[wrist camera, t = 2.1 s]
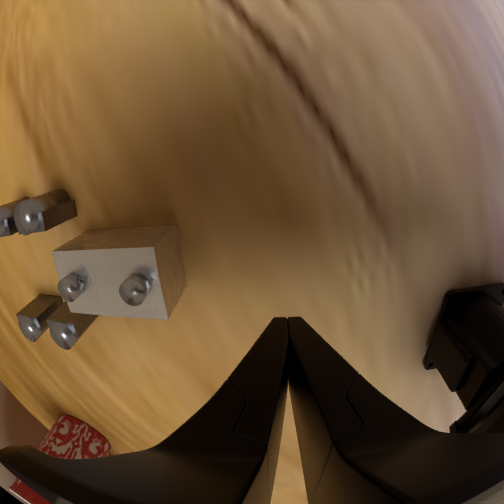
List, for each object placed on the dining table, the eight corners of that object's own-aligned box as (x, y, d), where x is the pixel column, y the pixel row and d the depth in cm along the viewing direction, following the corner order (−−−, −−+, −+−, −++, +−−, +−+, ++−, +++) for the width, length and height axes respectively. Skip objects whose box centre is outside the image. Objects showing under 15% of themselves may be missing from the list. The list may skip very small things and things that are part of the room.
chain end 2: (72, 186, 14) (33, 198, 10) (104, 322, 17) (80, 352, 14) (45, 192, 14) (8, 204, 11) (77, 319, 17) (52, 346, 14)
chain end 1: (35, 194, 14) (-1, 207, 11) (68, 318, 17) (43, 344, 14) (15, 199, 14) (-19, 212, 11) (46, 315, 17) (22, 338, 14)
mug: (42, 409, 23) (-2, 481, 11) (76, 407, 22) (25, 502, 9) (107, 465, 27) (80, 534, 14) (150, 468, 25) (125, 553, 13)
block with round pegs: (178, 224, 14) (146, 254, 10) (187, 284, 16) (162, 329, 12) (87, 230, 15) (42, 257, 11) (99, 283, 16) (63, 320, 12)
